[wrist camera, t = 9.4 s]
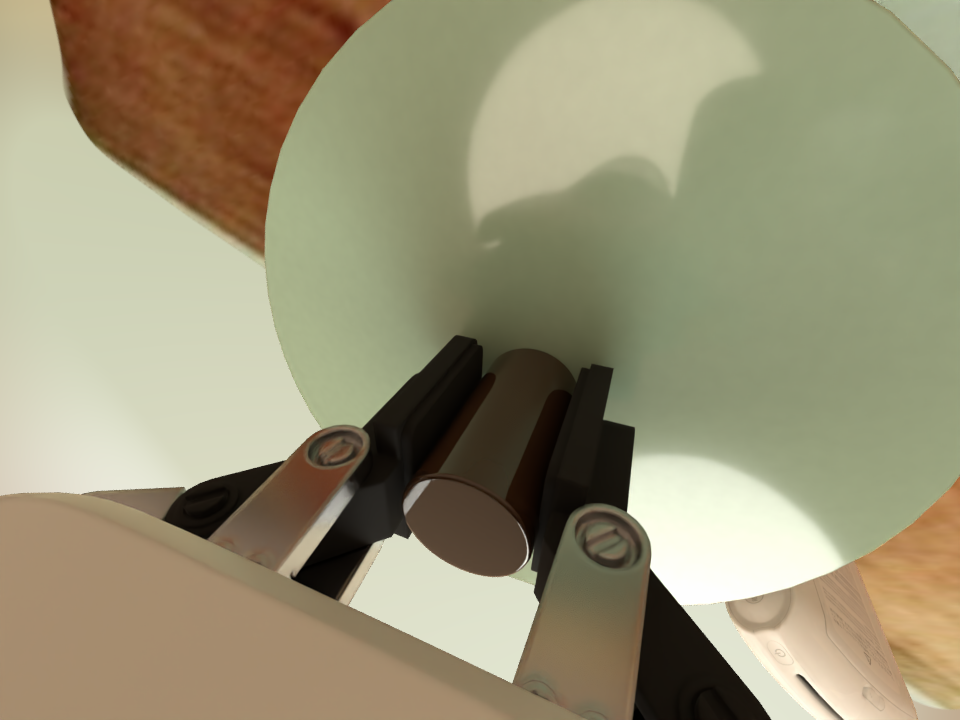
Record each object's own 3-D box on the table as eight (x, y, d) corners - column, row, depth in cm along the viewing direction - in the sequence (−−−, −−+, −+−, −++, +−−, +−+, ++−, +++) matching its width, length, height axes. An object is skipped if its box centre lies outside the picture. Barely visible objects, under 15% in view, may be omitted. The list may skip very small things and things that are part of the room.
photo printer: (700, 473, 30) (716, 653, 20) (759, 449, 27) (812, 641, 17) (793, 566, 30) (854, 782, 21) (859, 550, 28) (964, 789, 18)
